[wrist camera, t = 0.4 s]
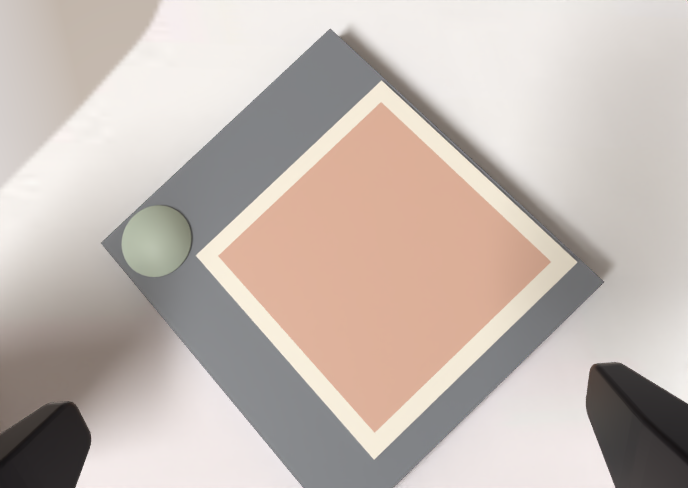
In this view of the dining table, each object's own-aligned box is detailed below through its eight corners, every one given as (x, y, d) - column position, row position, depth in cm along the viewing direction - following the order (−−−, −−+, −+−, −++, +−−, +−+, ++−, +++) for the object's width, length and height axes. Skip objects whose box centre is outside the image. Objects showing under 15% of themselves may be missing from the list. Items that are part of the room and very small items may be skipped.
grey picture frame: (594, 283, 22) (605, 281, 20) (345, 525, 21) (343, 537, 20) (332, 39, 25) (329, 27, 24) (112, 245, 24) (99, 242, 23)
